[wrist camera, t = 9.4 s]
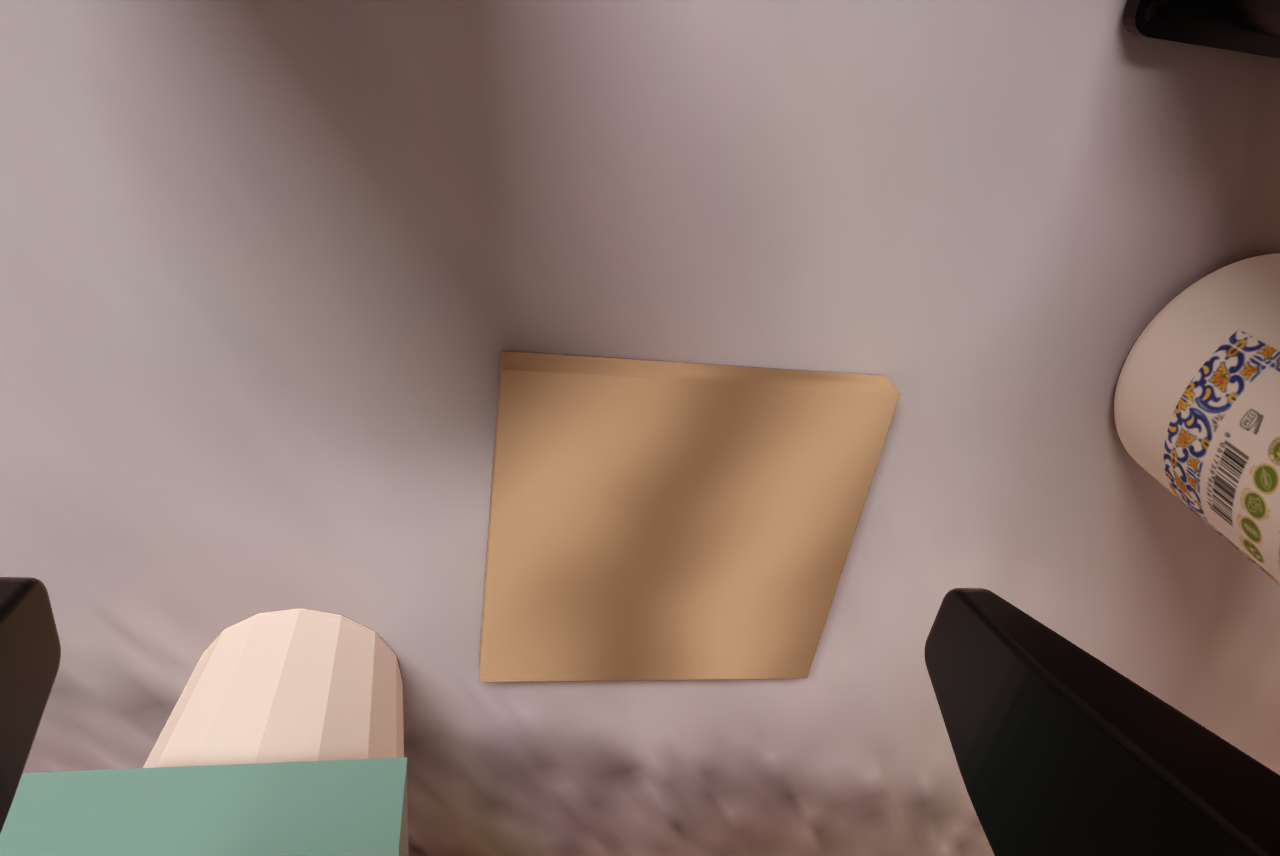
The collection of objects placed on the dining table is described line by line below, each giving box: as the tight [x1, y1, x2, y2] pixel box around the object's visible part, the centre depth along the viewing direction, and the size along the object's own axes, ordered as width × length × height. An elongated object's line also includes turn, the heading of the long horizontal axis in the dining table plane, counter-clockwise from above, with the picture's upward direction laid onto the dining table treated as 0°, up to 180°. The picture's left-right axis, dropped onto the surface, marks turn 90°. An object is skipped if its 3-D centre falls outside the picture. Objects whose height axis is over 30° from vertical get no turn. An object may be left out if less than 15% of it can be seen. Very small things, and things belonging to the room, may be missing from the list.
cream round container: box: [143, 608, 404, 768], centre depth 22 cm, size 7×7×7 cm
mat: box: [479, 351, 900, 682], centre depth 24 cm, size 10×10×1 cm
